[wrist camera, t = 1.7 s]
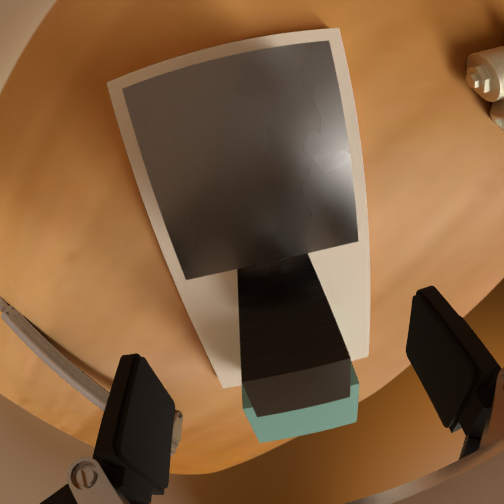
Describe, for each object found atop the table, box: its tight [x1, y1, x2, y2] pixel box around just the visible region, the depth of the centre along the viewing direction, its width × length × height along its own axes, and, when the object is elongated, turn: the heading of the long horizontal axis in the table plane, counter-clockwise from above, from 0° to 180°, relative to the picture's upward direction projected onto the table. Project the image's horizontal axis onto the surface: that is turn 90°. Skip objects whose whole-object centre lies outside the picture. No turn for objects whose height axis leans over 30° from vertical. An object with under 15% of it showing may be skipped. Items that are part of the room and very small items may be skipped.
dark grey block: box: [122, 40, 358, 280], centre depth 12 cm, size 6×7×6 cm
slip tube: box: [237, 253, 351, 417], centre depth 11 cm, size 3×14×9 cm, turn 13°
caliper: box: [0, 297, 183, 455], centre depth 21 cm, size 20×1×6 cm, turn 47°
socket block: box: [239, 333, 359, 443], centre depth 19 cm, size 6×5×6 cm
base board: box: [107, 28, 370, 388], centre depth 18 cm, size 12×23×1 cm, turn 13°
